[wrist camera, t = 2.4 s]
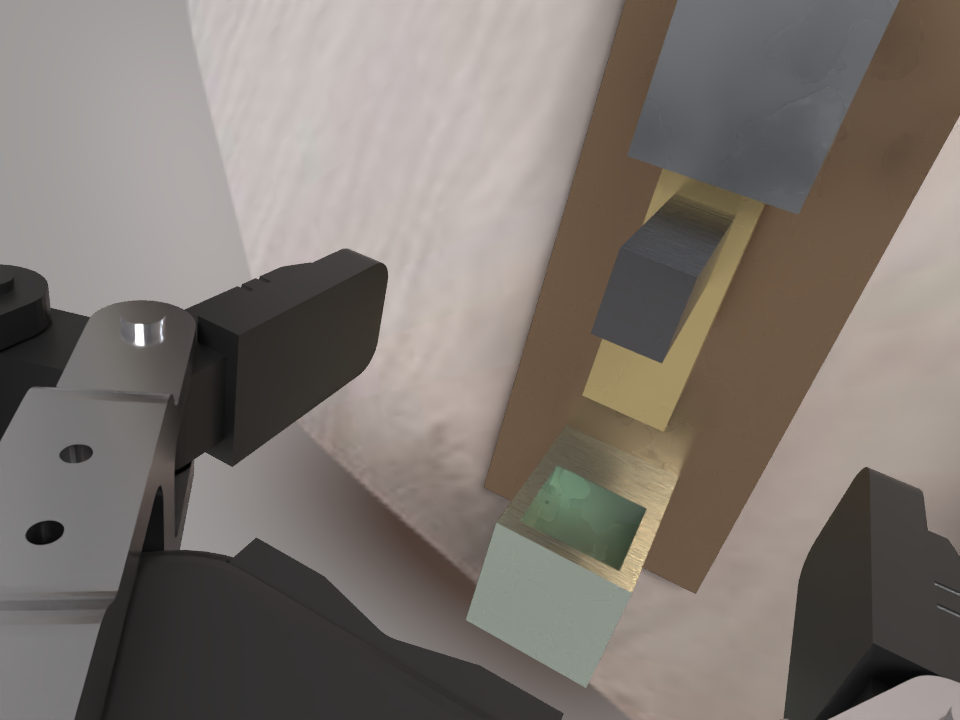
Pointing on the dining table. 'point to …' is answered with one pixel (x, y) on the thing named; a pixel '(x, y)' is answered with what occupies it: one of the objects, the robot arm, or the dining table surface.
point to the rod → (667, 295)
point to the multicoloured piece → (747, 304)
